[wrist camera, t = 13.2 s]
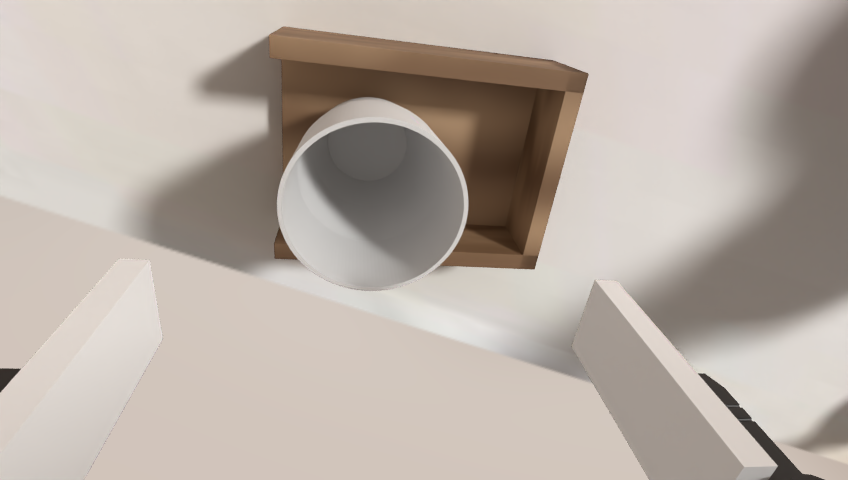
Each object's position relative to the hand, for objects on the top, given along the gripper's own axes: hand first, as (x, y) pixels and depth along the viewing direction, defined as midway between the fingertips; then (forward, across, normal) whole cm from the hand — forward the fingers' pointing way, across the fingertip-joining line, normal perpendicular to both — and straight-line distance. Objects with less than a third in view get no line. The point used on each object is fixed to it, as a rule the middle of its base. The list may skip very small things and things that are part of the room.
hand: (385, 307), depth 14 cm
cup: (+17, 0, 0) cm, 17 cm away
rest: (+18, +3, 0) cm, 18 cm away
